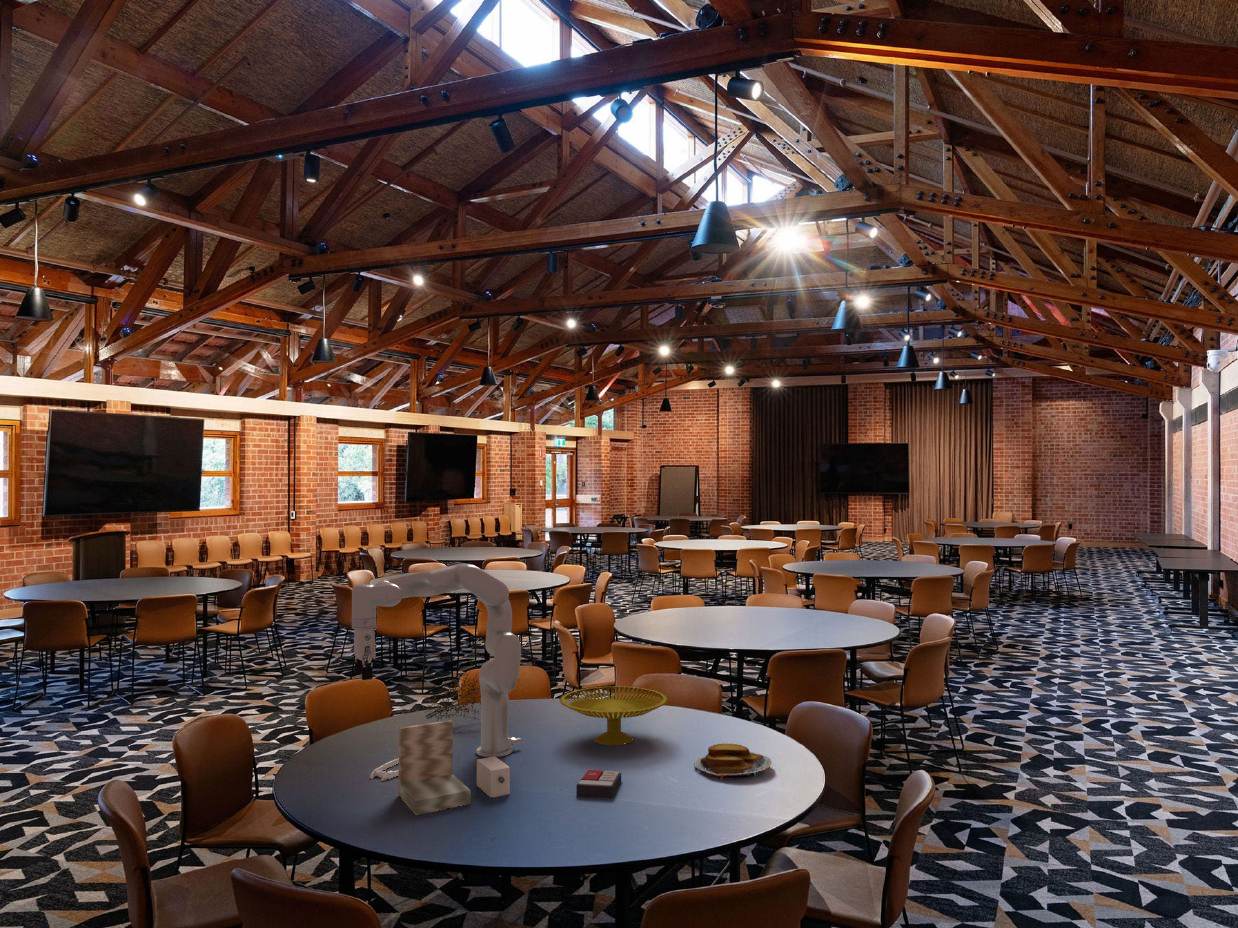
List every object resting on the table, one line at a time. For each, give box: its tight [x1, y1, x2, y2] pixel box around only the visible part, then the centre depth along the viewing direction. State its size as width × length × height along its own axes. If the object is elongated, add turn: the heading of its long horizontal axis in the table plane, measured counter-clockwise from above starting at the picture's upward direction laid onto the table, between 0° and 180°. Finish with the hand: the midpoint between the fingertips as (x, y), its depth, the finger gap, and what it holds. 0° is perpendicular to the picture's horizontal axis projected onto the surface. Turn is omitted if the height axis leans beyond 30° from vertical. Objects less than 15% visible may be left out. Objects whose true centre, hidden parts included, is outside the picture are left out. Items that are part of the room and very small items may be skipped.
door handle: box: [369, 757, 399, 782], centre depth 265 cm, size 3×10×25 cm
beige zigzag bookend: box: [398, 719, 472, 816], centre depth 237 cm, size 16×18×20 cm
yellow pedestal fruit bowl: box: [558, 685, 669, 746], centre depth 295 cm, size 40×40×15 cm
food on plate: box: [693, 743, 773, 781], centre depth 263 cm, size 25×25×7 cm
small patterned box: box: [576, 769, 622, 799], centre depth 245 cm, size 11×4×15 cm
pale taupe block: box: [476, 756, 511, 798], centre depth 244 cm, size 6×13×8 cm, turn 30°
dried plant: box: [423, 656, 529, 722], centre depth 317 cm, size 30×31×45 cm
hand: (363, 676), depth 260 cm, fingers open, 9 cm apart
